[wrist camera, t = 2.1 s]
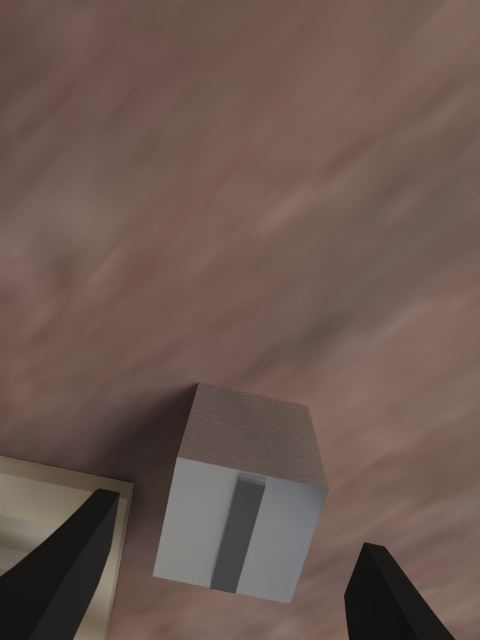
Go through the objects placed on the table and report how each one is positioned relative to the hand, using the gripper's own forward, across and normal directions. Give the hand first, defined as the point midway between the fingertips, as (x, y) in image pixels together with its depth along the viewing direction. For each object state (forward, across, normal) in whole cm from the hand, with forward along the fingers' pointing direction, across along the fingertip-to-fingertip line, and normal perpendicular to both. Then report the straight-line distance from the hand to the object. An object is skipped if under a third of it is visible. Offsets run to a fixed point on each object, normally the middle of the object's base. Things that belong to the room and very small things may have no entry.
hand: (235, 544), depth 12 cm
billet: (+6, 0, 0) cm, 6 cm away
